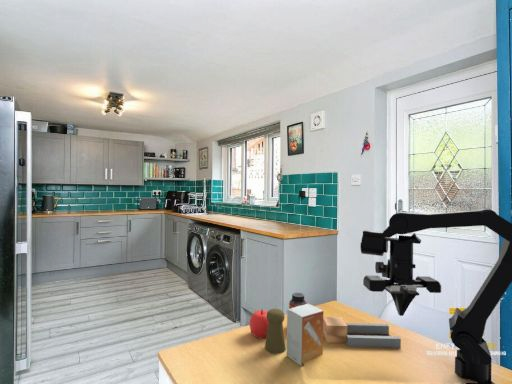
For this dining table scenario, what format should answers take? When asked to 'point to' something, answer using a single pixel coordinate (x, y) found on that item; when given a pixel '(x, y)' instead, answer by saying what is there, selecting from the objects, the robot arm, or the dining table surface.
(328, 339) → the block
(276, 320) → the olive pepper mill
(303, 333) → the small box
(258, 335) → the apple
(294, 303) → the supplement bottle
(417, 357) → the dining table surface
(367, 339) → the chute
